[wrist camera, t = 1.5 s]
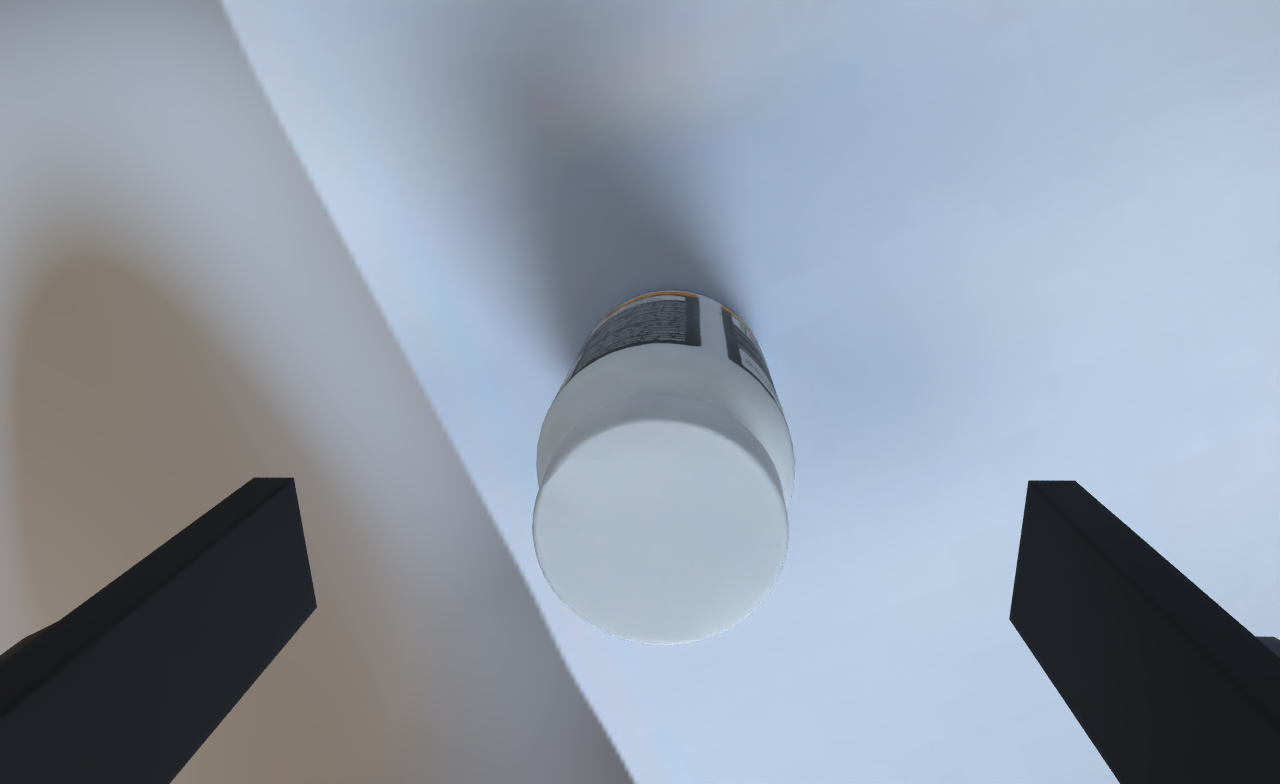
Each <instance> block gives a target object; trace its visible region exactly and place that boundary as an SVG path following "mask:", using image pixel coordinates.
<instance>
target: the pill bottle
mask: <svg viewBox="0 0 1280 784" xmlns="http://www.w3.org/2000/svg"><path fill="white" fill-rule="evenodd" d="M794 476H795V459H794V452H793V445H792V441H791V437H790V433H789V430H788V426H787V423H786V420H785V418H784V414H783V410H782V407H781V404H780V402H779V399H778V397H777V394H776V391H775V388H774V385H773V382H772V379H771V376H770V373H769V370H768V367H767V363H766V361H765V358H764V355H763V353H762V351H761V349H760V347H759V345H758V343H757V341H756V339H755V337H754V336H753V334H752V333H751V331H750V330H749V329H748V327H747V326H746V325H745V324H744V322H743V321H742V320H741V319H740V318H739V317H738V316H737V315H735V314H734V313H733V312H732V311H730V310H729V309H728V308H726V307H725V306H723V305H722V304H720V303H719V302H717V301H715V300H713V299H710V298H708V297H706V296H703V295H699V294H696V293H692V292H687V291H677V290H667V291H656V292H650V293H646V294H643V295H640V296H637V297H634V298H632V299H630V300H628V301H626V302H624V303H622V304H621V305H619V306H618V307H616V308H615V309H614V310H612V311H611V312H610V313H608V314H607V315H606V316H605V317H604V318H603V319H602V320H601V321H600V322H599V323H598V325H597V326H596V327H595V329H594V330H593V331H592V332H591V334H590V335H589V337H588V338H587V340H586V342H585V343H584V345H583V347H582V349H581V351H580V353H579V355H578V358H577V359H576V361H575V363H574V365H573V366H572V368H571V369H570V371H569V372H568V375H567V377H566V379H565V380H564V382H563V384H562V386H561V388H560V390H559V391H558V393H557V395H556V397H555V399H554V401H553V403H552V405H551V406H550V408H549V410H548V412H547V414H546V417H545V419H544V422H543V424H542V427H541V432H540V436H539V440H538V445H537V477H538V484H539V491H538V494H537V498H536V501H535V506H534V512H533V526H532V529H533V540H534V546H535V551H536V555H537V558H538V561H539V565H540V567H541V570H542V572H543V574H544V576H545V578H546V580H547V582H548V583H549V585H550V586H551V588H552V589H553V591H554V592H555V593H556V595H557V596H558V597H559V598H560V600H561V601H562V602H563V603H564V604H565V605H566V606H567V607H568V608H569V609H570V610H571V611H572V612H574V613H575V614H576V615H577V616H578V617H580V618H581V619H583V620H584V621H585V622H587V623H589V624H590V625H592V626H594V627H596V628H598V629H600V630H601V631H604V632H606V633H608V634H610V635H613V636H615V637H618V638H621V639H624V640H628V641H632V642H638V643H643V644H653V645H675V644H683V643H690V642H695V641H699V640H702V639H705V638H709V637H712V636H714V635H717V634H719V633H721V632H723V631H725V630H727V629H729V628H731V627H733V626H734V625H736V624H737V623H739V622H740V621H742V620H743V619H744V618H746V617H747V616H748V615H749V614H751V613H752V612H753V611H754V610H755V609H756V608H757V607H758V606H759V605H760V604H761V603H762V601H763V600H764V599H765V598H766V596H767V595H768V594H769V592H770V591H771V589H772V588H773V586H774V584H775V583H776V581H777V579H778V577H779V575H780V572H781V570H782V567H783V564H784V561H785V556H786V552H787V547H788V518H787V510H788V507H789V504H790V500H791V497H792V491H793V485H794Z"/></svg>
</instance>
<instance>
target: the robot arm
mask: <svg viewBox="0 0 1280 784" xmlns="http://www.w3.org/2000/svg"><path fill="white" fill-rule="evenodd" d="M316 608H317V605H316V599H315V594H314V588H313V582H312V577H311V571H310V566H309V560H308V555H307V550H306V544H305V538H304V532H303V527H302V522H301V516H300V510H299V505H298V499H297V493H296V488H295V482H294V478H253V479H252V480H250V481H249V482H247V483H246V484H245V485H243V486H242V487H241V488H239V489H238V490H236V491H235V492H234V493H233V494H231V495H230V496H228V497H227V498H226V499H224V500H223V501H221V502H220V503H219V504H217V505H216V506H215V507H213V508H212V509H211V510H209V511H208V512H207V513H205V514H204V515H202V516H201V517H200V518H198V519H197V520H196V521H194V522H193V523H192V524H190V525H189V526H187V527H186V528H185V529H184V530H182V531H181V532H179V533H178V534H177V535H175V536H174V537H172V538H171V539H170V540H168V541H167V542H166V543H165V544H163V545H162V546H160V547H159V548H158V549H156V550H155V551H153V552H152V553H151V554H149V555H148V556H147V557H145V558H144V559H143V560H141V561H140V562H138V563H137V564H136V565H134V566H133V567H132V568H130V569H129V570H128V571H126V572H125V573H123V574H122V575H121V576H119V577H118V578H117V579H115V580H114V581H113V582H111V583H110V584H108V585H107V586H106V587H104V588H103V589H102V590H100V591H99V592H98V593H96V594H95V595H94V596H92V597H91V598H90V599H88V600H87V601H85V602H84V603H83V604H81V605H80V606H79V607H77V608H76V609H74V610H73V611H72V612H70V613H69V614H68V615H66V616H65V617H64V618H62V619H61V620H60V621H58V622H56V623H54V624H52V625H50V626H48V627H46V628H44V629H42V630H40V631H38V632H36V633H34V634H32V635H29V636H27V637H26V638H24V639H22V640H21V641H20V642H18V643H17V644H15V645H14V646H13V647H11V648H10V649H9V650H7V651H6V652H4V653H3V654H2V655H0V784H170V783H171V781H172V780H173V779H174V778H175V777H176V775H177V774H178V773H179V772H180V771H181V769H182V768H183V767H184V766H185V764H186V763H187V762H188V761H189V760H190V759H191V757H192V756H193V755H194V754H195V753H196V751H197V750H198V749H199V748H200V747H201V745H202V744H203V743H204V742H205V741H206V739H207V738H208V737H209V736H210V734H211V733H212V732H213V731H214V730H215V729H216V727H217V726H218V725H219V724H220V723H221V721H222V720H223V719H224V718H225V717H226V715H227V714H228V713H229V712H230V711H231V709H232V708H233V707H234V706H235V705H236V703H237V702H238V701H239V700H240V699H241V697H242V696H243V695H244V693H246V691H247V690H248V689H249V688H250V687H251V685H252V684H253V683H254V682H255V681H256V679H257V678H258V677H259V676H260V675H261V673H262V672H263V671H264V670H265V669H266V667H267V666H268V665H269V664H270V663H271V661H272V660H273V659H274V658H275V656H277V654H278V653H279V652H280V651H281V650H282V648H283V647H284V646H285V645H286V644H287V642H288V641H289V640H290V639H291V637H292V636H293V635H294V634H295V633H296V632H297V630H298V629H299V628H300V627H301V626H302V624H303V623H304V622H305V621H306V620H307V618H308V617H309V616H310V615H311V614H312V612H313V611H314V610H315V609H316ZM1009 619H1010V621H1011V622H1012V624H1013V625H1014V627H1015V628H1016V630H1017V631H1018V633H1019V634H1020V636H1021V637H1022V638H1023V640H1024V641H1025V643H1026V644H1027V646H1028V647H1029V649H1030V650H1031V652H1032V653H1033V655H1034V656H1035V658H1036V659H1037V661H1038V662H1039V664H1040V665H1041V667H1042V668H1043V670H1044V671H1045V673H1046V674H1047V676H1048V677H1049V679H1050V680H1051V682H1052V683H1053V685H1054V686H1055V688H1056V689H1057V691H1058V692H1059V693H1060V695H1061V696H1062V698H1063V699H1064V701H1065V702H1066V704H1067V705H1068V707H1069V708H1070V710H1071V711H1072V713H1073V714H1074V716H1075V717H1076V719H1077V720H1078V722H1079V723H1080V725H1081V726H1082V728H1083V729H1084V731H1085V732H1086V734H1087V735H1088V737H1089V738H1090V740H1091V741H1092V743H1093V744H1094V746H1095V747H1096V748H1097V750H1098V751H1099V753H1100V754H1101V756H1102V757H1103V759H1104V760H1105V762H1106V763H1107V765H1108V766H1109V768H1110V769H1111V771H1112V772H1113V774H1114V775H1115V777H1116V778H1117V780H1118V781H1119V783H1120V784H1280V640H1279V639H1277V638H1275V637H1255V636H1254V635H1253V634H1252V633H1251V632H1249V631H1248V630H1247V629H1246V628H1245V627H1244V626H1242V625H1241V624H1240V623H1239V622H1238V621H1237V620H1235V619H1234V618H1233V617H1232V616H1231V615H1230V614H1229V613H1227V612H1226V611H1225V610H1224V609H1223V608H1222V607H1220V606H1219V605H1218V604H1217V603H1216V602H1215V601H1213V600H1212V599H1211V598H1210V597H1209V596H1208V595H1207V594H1205V593H1204V592H1203V591H1202V590H1201V589H1200V588H1198V587H1197V586H1196V585H1195V584H1194V583H1193V582H1192V581H1190V580H1189V579H1188V578H1187V577H1186V576H1185V575H1183V574H1182V573H1181V572H1180V571H1179V570H1178V569H1176V568H1175V567H1174V566H1173V565H1172V564H1171V563H1170V562H1168V561H1167V560H1166V559H1165V558H1164V557H1163V556H1161V555H1160V554H1159V553H1158V552H1157V551H1156V550H1154V549H1153V548H1152V547H1151V546H1150V545H1149V544H1148V543H1146V542H1145V541H1144V540H1143V539H1142V538H1141V537H1139V536H1138V535H1137V534H1136V533H1135V532H1134V531H1133V530H1131V529H1130V528H1129V527H1128V526H1127V525H1126V524H1124V523H1123V522H1122V521H1121V520H1120V519H1119V518H1117V517H1116V516H1115V515H1114V514H1113V513H1112V512H1111V511H1109V510H1108V509H1107V508H1106V507H1105V506H1104V505H1102V504H1101V503H1100V502H1099V501H1098V500H1097V499H1095V498H1094V497H1093V496H1092V495H1091V494H1090V493H1089V492H1087V491H1086V490H1085V489H1084V488H1083V487H1082V486H1080V485H1079V484H1078V483H1077V482H1076V481H1028V488H1027V495H1026V503H1025V510H1024V517H1023V524H1022V531H1021V539H1020V546H1019V553H1018V560H1017V568H1016V575H1015V582H1014V589H1013V596H1012V604H1011V611H1010V618H1009Z"/></svg>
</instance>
